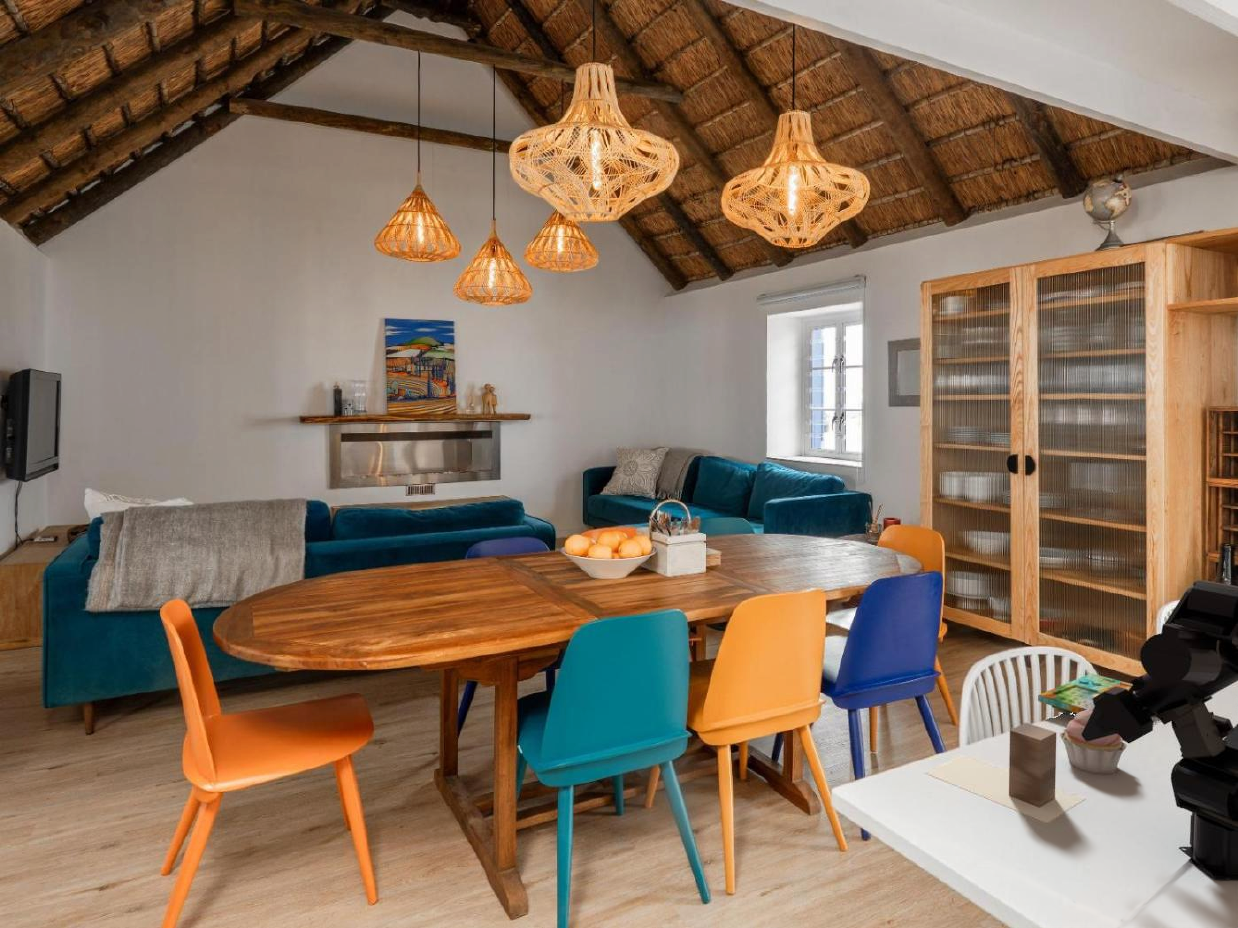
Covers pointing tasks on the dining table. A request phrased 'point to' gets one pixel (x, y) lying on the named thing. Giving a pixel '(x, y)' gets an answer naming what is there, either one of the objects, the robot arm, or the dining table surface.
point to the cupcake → (1091, 747)
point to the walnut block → (1032, 764)
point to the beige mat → (999, 787)
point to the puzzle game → (1079, 693)
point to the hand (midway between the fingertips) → (1097, 731)
